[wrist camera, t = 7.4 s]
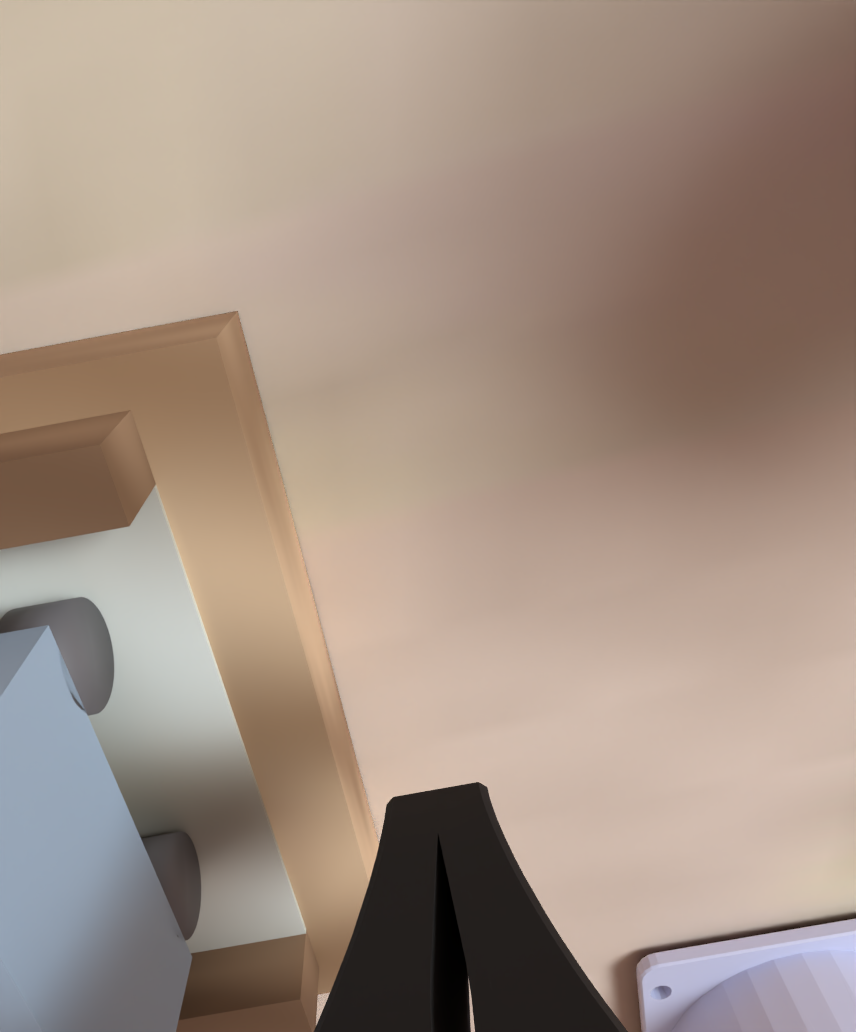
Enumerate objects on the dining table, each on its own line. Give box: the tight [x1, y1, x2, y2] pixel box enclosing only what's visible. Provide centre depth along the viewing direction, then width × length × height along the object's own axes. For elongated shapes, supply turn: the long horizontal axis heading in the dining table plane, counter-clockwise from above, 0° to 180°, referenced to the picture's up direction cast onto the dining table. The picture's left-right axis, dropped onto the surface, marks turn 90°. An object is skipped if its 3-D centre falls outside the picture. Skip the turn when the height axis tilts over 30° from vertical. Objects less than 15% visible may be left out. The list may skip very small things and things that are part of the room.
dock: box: [0, 311, 379, 1032], centre depth 15 cm, size 14×11×4 cm
